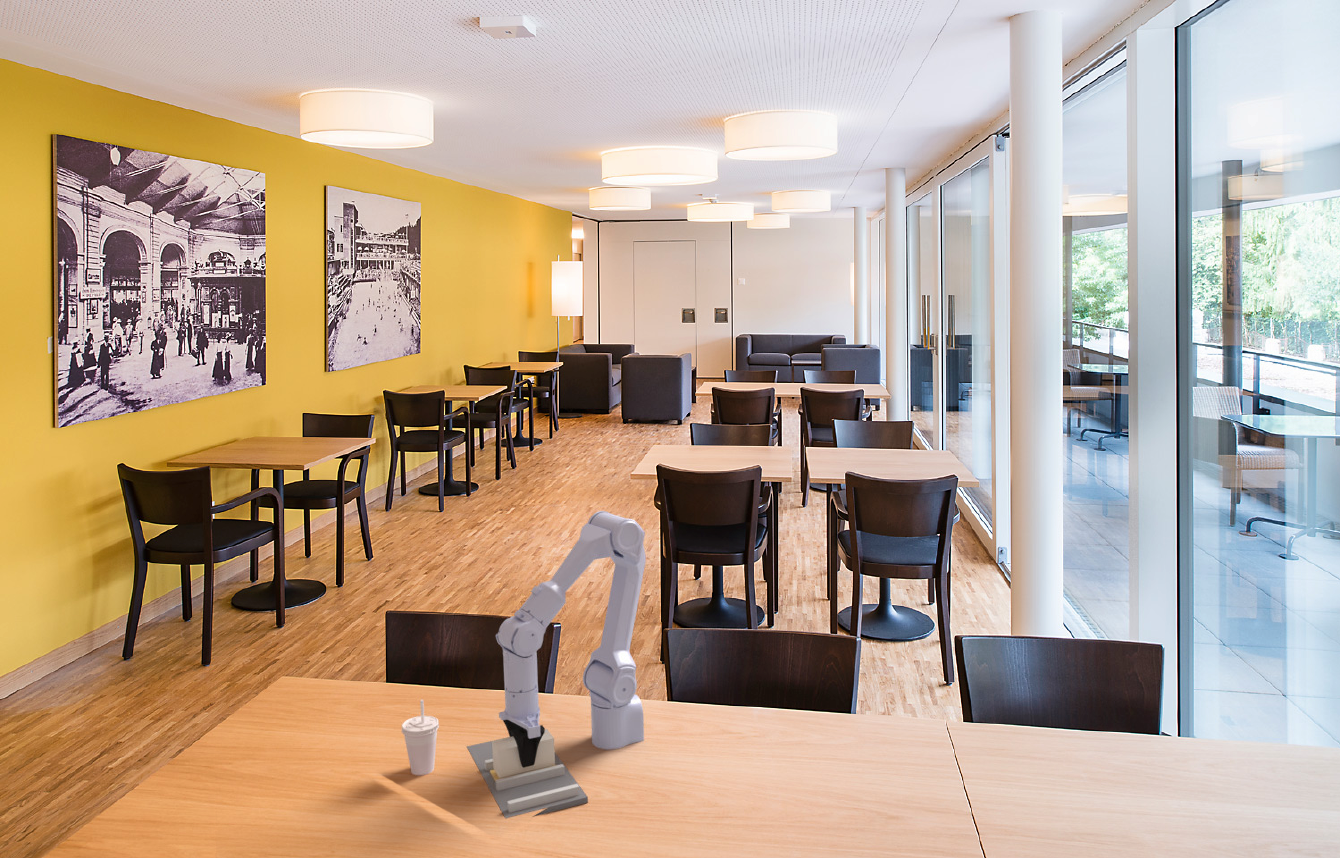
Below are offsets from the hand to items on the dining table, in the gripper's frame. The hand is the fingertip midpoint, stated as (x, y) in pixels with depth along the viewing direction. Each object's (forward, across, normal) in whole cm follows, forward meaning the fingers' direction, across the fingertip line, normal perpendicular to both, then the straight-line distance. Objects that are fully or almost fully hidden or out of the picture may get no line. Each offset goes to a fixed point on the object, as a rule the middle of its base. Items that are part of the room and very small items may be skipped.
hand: (524, 759), depth 160 cm
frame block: (+1, 0, 0) cm, 1 cm away
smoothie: (+3, -9, -16) cm, 19 cm away
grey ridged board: (+3, 0, 0) cm, 3 cm away
